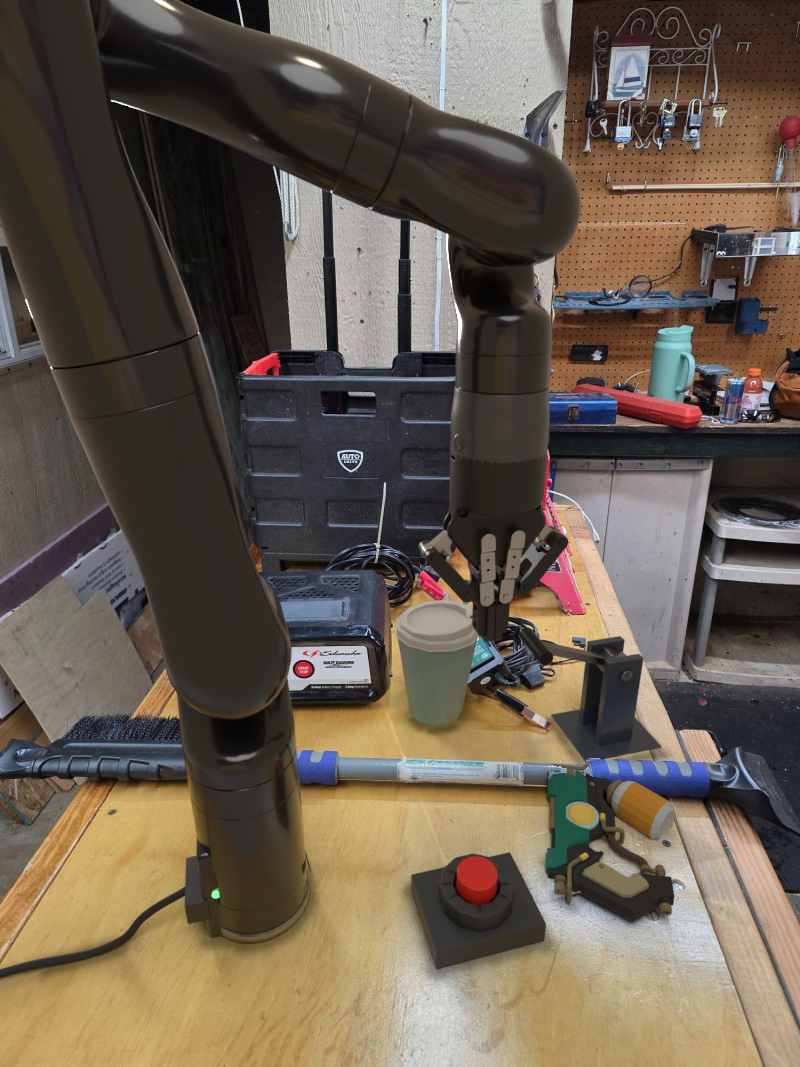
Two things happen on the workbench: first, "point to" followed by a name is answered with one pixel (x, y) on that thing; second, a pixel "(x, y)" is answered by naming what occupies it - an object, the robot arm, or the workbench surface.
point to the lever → (564, 651)
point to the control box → (475, 914)
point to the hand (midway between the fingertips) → (489, 636)
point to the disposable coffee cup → (436, 658)
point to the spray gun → (588, 818)
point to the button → (477, 880)
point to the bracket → (608, 707)
